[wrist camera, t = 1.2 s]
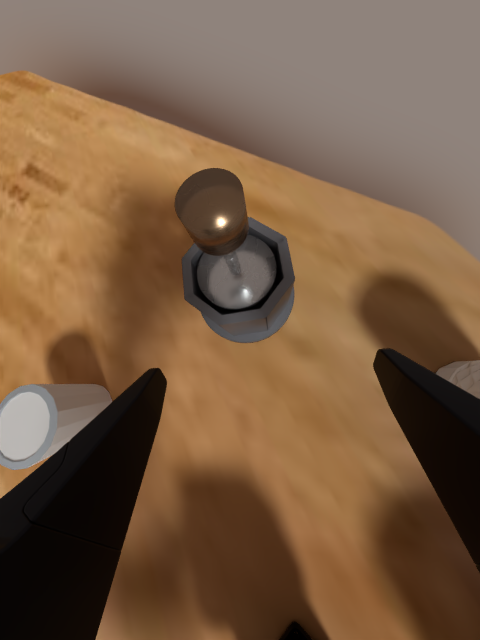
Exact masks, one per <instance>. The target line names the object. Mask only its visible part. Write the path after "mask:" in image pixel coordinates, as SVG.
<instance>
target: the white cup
mask: <svg viewBox="0 0 480 640" xmlns="http://www.w3.org/2000/svg"><path fill="white" fill-rule="evenodd" d="M436 374H437V375H439V376H440V377H442V378H444V379H446V380H447V381H449V382H451V383H453V384H454V385H456V386H458V387H460V388H461V389H463V390H465V391H467V392H468V393H470V394H472V395H474V396H475V397H477V398H479V399H480V360H476V361H457V362H453V363H450V364H448V365H446V366H444V367H441V368H439V369H438V371H437V372H436Z"/></svg>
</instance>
